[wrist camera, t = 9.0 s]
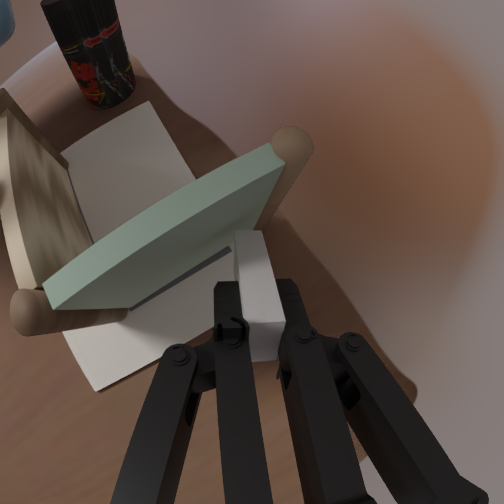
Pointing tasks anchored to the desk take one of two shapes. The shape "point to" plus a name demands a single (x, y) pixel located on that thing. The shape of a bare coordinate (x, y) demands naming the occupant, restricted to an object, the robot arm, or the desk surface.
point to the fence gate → (182, 228)
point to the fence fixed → (40, 225)
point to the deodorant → (93, 48)
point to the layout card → (119, 212)
